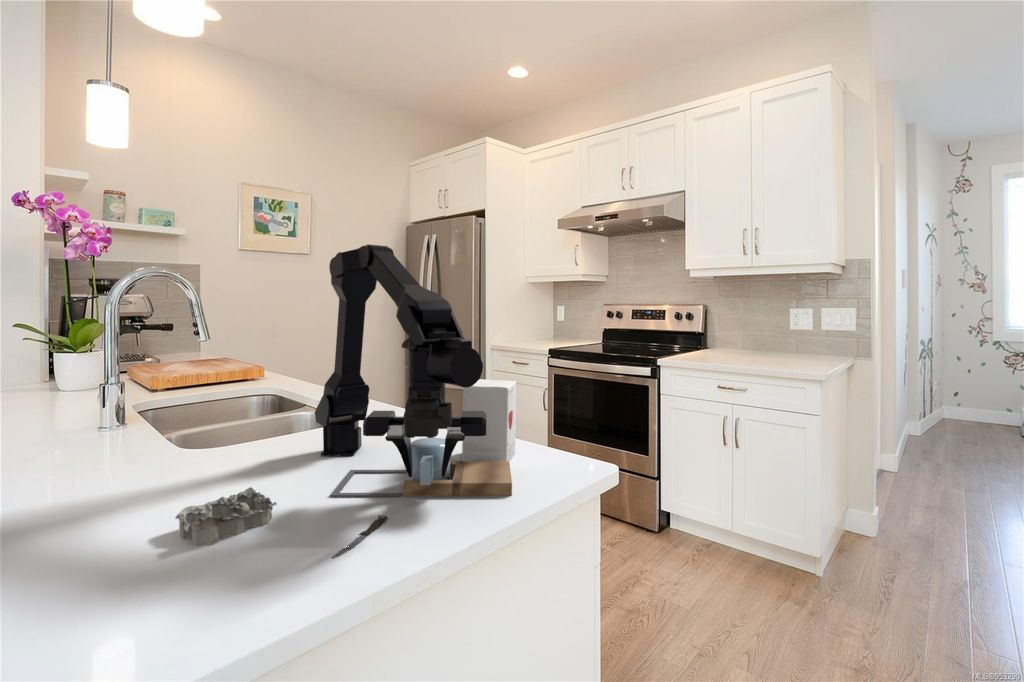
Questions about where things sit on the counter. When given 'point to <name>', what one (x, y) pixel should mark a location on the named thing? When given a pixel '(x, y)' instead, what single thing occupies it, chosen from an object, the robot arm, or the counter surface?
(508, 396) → the supplement box
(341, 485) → the frame
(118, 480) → the counter surface
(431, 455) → the jug
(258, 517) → the egg carton
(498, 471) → the cradle
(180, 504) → the counter surface
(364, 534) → the knife
